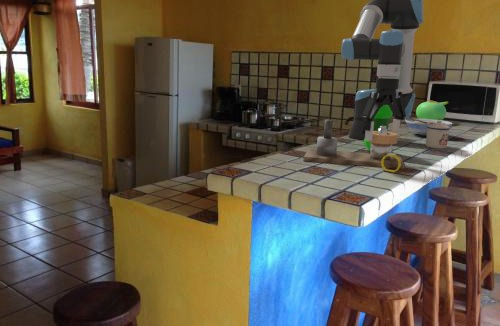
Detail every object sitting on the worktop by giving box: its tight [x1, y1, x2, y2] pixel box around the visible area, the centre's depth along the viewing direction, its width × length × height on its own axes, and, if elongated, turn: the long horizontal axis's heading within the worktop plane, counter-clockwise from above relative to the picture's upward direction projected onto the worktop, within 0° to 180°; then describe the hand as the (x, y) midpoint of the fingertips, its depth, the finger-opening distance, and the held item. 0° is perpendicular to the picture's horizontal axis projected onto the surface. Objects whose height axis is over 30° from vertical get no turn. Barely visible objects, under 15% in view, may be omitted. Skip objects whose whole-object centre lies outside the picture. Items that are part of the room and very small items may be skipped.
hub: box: [369, 126, 393, 160], centre depth 154 cm, size 7×7×12 cm
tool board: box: [303, 119, 405, 170], centre depth 156 cm, size 34×16×14 cm, turn 77°
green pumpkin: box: [415, 99, 449, 121], centre depth 279 cm, size 18×17×15 cm
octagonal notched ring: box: [367, 131, 399, 145], centre depth 154 cm, size 10×10×3 cm
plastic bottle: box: [363, 88, 393, 152], centre depth 174 cm, size 10×10×25 cm
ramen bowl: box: [404, 117, 453, 137], centre depth 224 cm, size 25×23×8 cm
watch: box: [381, 152, 401, 173], centre depth 142 cm, size 6×3×6 cm, turn 55°
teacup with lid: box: [425, 120, 451, 150], centre depth 191 cm, size 12×9×12 cm
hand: (381, 138), depth 154 cm, fingers open, 13 cm apart
